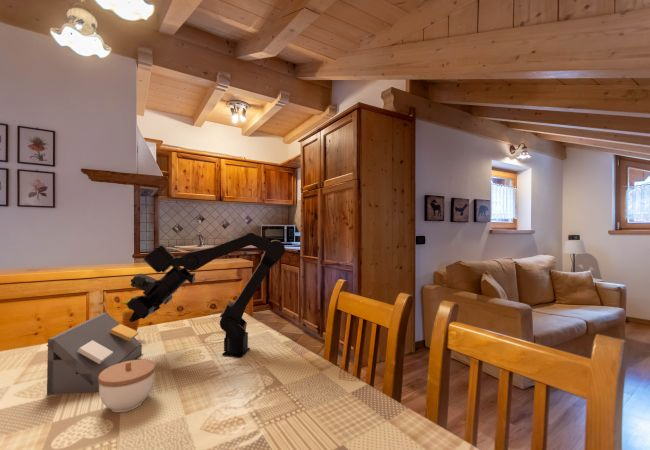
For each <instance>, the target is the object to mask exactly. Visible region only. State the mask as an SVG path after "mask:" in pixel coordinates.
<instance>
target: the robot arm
mask: <svg viewBox="0 0 650 450" xmlns="http://www.w3.org/2000/svg"><path fill="white" fill-rule="evenodd" d="M249 246H252V247H254V248H257V249H259V250H261V251H264V252H263V255H262V257H261V259H260V262H259V263H258V265H257V267H256V268H255V269H254V272H253V273H252V275H251V276H250V278H249V279H248V281H247V282H246V284H245V286H243V289H242V291H240V294H239V295H238V296H237V298H236V299H235V300H234V301H233V302H232V301H231V300H229V301H228V303H227V305H226V307H225V308H224V309H223V310H222V311H221V314H220V315H219V317H220V320H219V326H220V328H221V330H222V331H223V332H225V337H224V339H223V353H221V354H222V356H223V357H231V358H232V357H233V358H243V356H245V355H246V354H247V353H248V352H249V351H250V350H251V348H250V347H249V332H247V331H246V330H247V325H248V322H247V321H246V320H245V319H244V318H243V316H244V313H245V310H246V308H247V306H248V305H249V303H250V302H251V299H252V298H253V296H254V295H255V293H256V292H257V290H258V289H259V287H260V285H261V284H262V282H263V281H264V279H265V277H267V274H268V272H270V270H271V268H273V267H274V265H276V264H277V263H278V262H279V261H280V259H281V258H282V257H283V256H284V254H285V253H286V246H285V244H284V242H282V241H281V240H279V239H273V240H270V239H268V238H265V237H263V236H260V235H258V234H256V233H255V232H253V231H251V232H248V233H247V234H244V235H242V236H238V237H237V238H233V239H232V240H231V239H230V240H229V241H226V242H224V243H220V244H217V245H214V246H212V247H207V248H202V249H197V250H196V249H195V250H192V251H190V252H187V253H185V254H184V255H177V256H175V255H174V253H172V252H171V251H170V250H169V249H168V248H167V246H165V245H164V244H161V245H159V246H158V247H157V248H155V249H154V250H152V251H151V252H149V253H147V254H146V256H145V257H144V258H143V262H145V263H146V264H147V265H148V266H149V267H150V268H152V269H153V270H154V271H155V272H156V273H157V274H159V273H162V274H164V275H163V276H162V277H161V278H159V279H156V278H154V277H151V276H150V275H147V274H145V273H138V274H136V275H135V274H134V276H133V277H132V279H130V287H132V288H137V289H139V290H141V291H143V292H142V294H143V295H136V296H133V297H134V298H132V299H131V298H130V299H129V300H130V301H129V300H128V301H129V302H128V301H127V305H126V306H127V307H130V308H131V309H132V310H133V311H134V313H133V314H132V316H131V318H130V319H129V321H130V322H134V321H136V320H138V319H139V320H141V319H145V318H147V317H149V316H150V315H151V314H153V313H156V312H157V311H158V310H160V309H161V307H160V306H161V305H167V304H169V303H170V302H171V301H172V299H173V295H174V294H175V293H176V292H177V291H178V290H179V289H180V287H181V286H182V285H184V284H185V283H186V282H187V281H188V283H190V284H193V283H194V282H196V272H195V271H197V270H199V269H200V268H202V267H204V266H205V265H207V264H209V263H210V262H212V261H214V260H215V259H217V258H221V257H223V256H225V255H229V254H231V253H233V252H235V251H238V250H241V249H244V248H246V247H247V248H248V247H249ZM171 267H172V268H171ZM168 270H169V271H168ZM166 272H167V273H166Z"/></svg>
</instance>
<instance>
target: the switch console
mask: <svg viewBox="0 0 650 450" xmlns="http://www.w3.org/2000/svg"><path fill="white" fill-rule="evenodd" d="M119 324H120V322H118V321H117V320H116V318H114V317H113V316H111V314H110V313H109V312H101V313H99V314H97V315H96V316H94V317H92V318H89V319H88V320H85V321H83V322H81V323H80V324H79V323H78V324H77V325H75V326H73V327H71V328H69V329H66V330H65V331H62V332H61V333H58V334H56V335H54V336H52V337H50V338H48V339H47V344H46V347H47V363H46V364H47V367H46V368H47V370H46V371H47V374H46V395H61V394H63V395H65V394H78V393H79V394H80V393H96V392H97V393H99V382H98V376H99V374H100V373H101V372H102V371H103V370H105V369H106V368H108V367H110V366H113V365H115V364H118V363H122V362H125V361H131V360H137V358H138V357H140V356H141V355H142V351H143V346H142V345H143V344H142V343H141V342H140V341H139V340H138V339H137V338H136V336H135V337H134V338H133V339H131V340H130V341H128V340H125V339H123V338H121V337H119V336H116V335H114V334H112V333H109V332H110V331H111V329H113V328H114V327H116V326H118V325H119ZM92 340H93V341H95V342H97V343H98V344H100V345H102V346H104V347H105V348H107V349H109V350H111V351H113V353H112V355H111V356H109V357H108V358H107V359H105V360H104V361H103V362H101V363H100V364H99V363H97V362H95V361H93V360H91V359H90V358H88V357H86V356H84V355H82V354H81V353H79V352H77V351H78V349H79V348H80V347H82V346H84V345H85V344H87V343H89V342H90V341H92Z"/></svg>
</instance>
